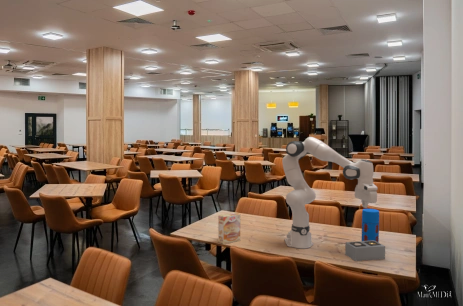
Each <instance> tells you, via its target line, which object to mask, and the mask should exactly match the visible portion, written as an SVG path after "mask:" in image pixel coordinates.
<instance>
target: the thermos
mask: <svg viewBox="0 0 463 306" xmlns="http://www.w3.org/2000/svg"><path fill="white" fill-rule="evenodd" d="M361 211H362V212H361V241H372V240H374V241H376V242H378V243H380V242H379V241H380V240H379V239H380V238H379V237H380V235H379V233H380V210H378V209H375V208H363V209H362V210H361Z"/></svg>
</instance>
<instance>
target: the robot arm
mask: <svg viewBox="0 0 463 306" xmlns="http://www.w3.org/2000/svg"><path fill="white" fill-rule="evenodd" d="M285 151H286V153H287V154H286V155H285V156H283V158H282V159H281V162H282V169H283V172H284V174H285V175H284V176H285V178H286V181H287V184H288V185H290V186H291V187H292V188H293V190H291V191H289V192H287V194H286V195H285V202H286V203H287V205H288V206H289V207H290V209H291V213H292V215H291V216H292V224H291V229H290V230H289V232H288V233H287V234H286V238H284V242H285V244H286V246H287V247H289V248H295V249H309V248H311V247H312V246H314V245H315V244H314V242H313V241H312V240H313V239H312V232H310V230H311V229H310V228H311V227H310V213H308V211H307V209H306V205H309V204H311V203H312V202H314V201H315V199H316V197H317V195H316V191H315V190H314V189H313V188H311V187H310V186H309V185H308V183H307V181H306V180H305V178H304V176H303V172H302V170H301V167H300V163H299V161H301V159H303V158H304V157H306V155H308V154H310V155H312V156H313V157H314V158H316V159H317V160H320V161H322V162H332V163H335V164H336V165H339V166H340V167H341V168H343V169H342V175H343V177H344V178H345V179H346V180H355V179H357V184H356V185H355V188H354V198H356V199H359V200H361V204H362V205H361V207H363V209H368V206H369V204H376V203H377V201H378V190H379V189H378V186H377V185H376V184H375V183H374V179H373V176H374V165H373V162H372V161H371V160H369V159H364V158H362V159H359V160H358V161H357V162H356V161H351V160H350V159H348V158H347V157H345V156H343V155H341V154H340V153H339V152H337V151H336V150H334V149H333V148H332V147H330V146H329V145H328V144H326V143H325V142H324V141H322V140H320V139H318V138H316V137H314V136H308V137H307V138H305V140H304V141H301V140H300V141H299V140H293V141H290V142H288V144H287V145H286V147H285Z"/></svg>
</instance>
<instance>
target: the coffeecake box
mask: <svg viewBox="0 0 463 306" xmlns="http://www.w3.org/2000/svg"><path fill="white" fill-rule="evenodd" d="M217 216H218V225H217V226H218V227H217V228H218V229H217V231H218V232H217V233H218V235H217V236H218V238H217V239H218V243H219V244H221V245H227V244H231V243H235V242H241V216H242V215H241V213H239V212H229V213H224V214H218V215H217Z"/></svg>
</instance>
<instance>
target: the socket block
mask: <svg viewBox="0 0 463 306" xmlns="http://www.w3.org/2000/svg"><path fill="white" fill-rule="evenodd" d="M369 242H374V243H376V244H370V243H369ZM355 243H359V244H361V245H355ZM344 247H345V249H344V250H345V251H344V252H345V253H344V254H345V256H346V257H348V258H349V259H351V260H353V261H354V262H362V260H365V261H375V260H385V258H386V246H385V245H384V244H382V243H380V242H379V243H378V242H376V241H374V240H372V241H362V240H360V241H346V242H345V246H344Z"/></svg>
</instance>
